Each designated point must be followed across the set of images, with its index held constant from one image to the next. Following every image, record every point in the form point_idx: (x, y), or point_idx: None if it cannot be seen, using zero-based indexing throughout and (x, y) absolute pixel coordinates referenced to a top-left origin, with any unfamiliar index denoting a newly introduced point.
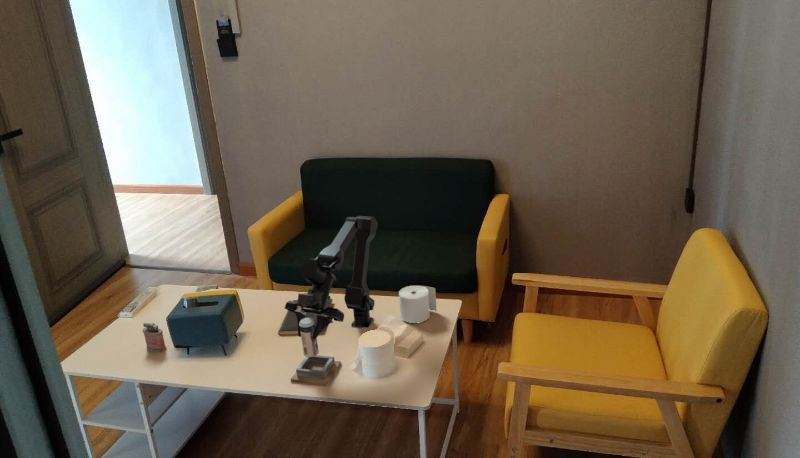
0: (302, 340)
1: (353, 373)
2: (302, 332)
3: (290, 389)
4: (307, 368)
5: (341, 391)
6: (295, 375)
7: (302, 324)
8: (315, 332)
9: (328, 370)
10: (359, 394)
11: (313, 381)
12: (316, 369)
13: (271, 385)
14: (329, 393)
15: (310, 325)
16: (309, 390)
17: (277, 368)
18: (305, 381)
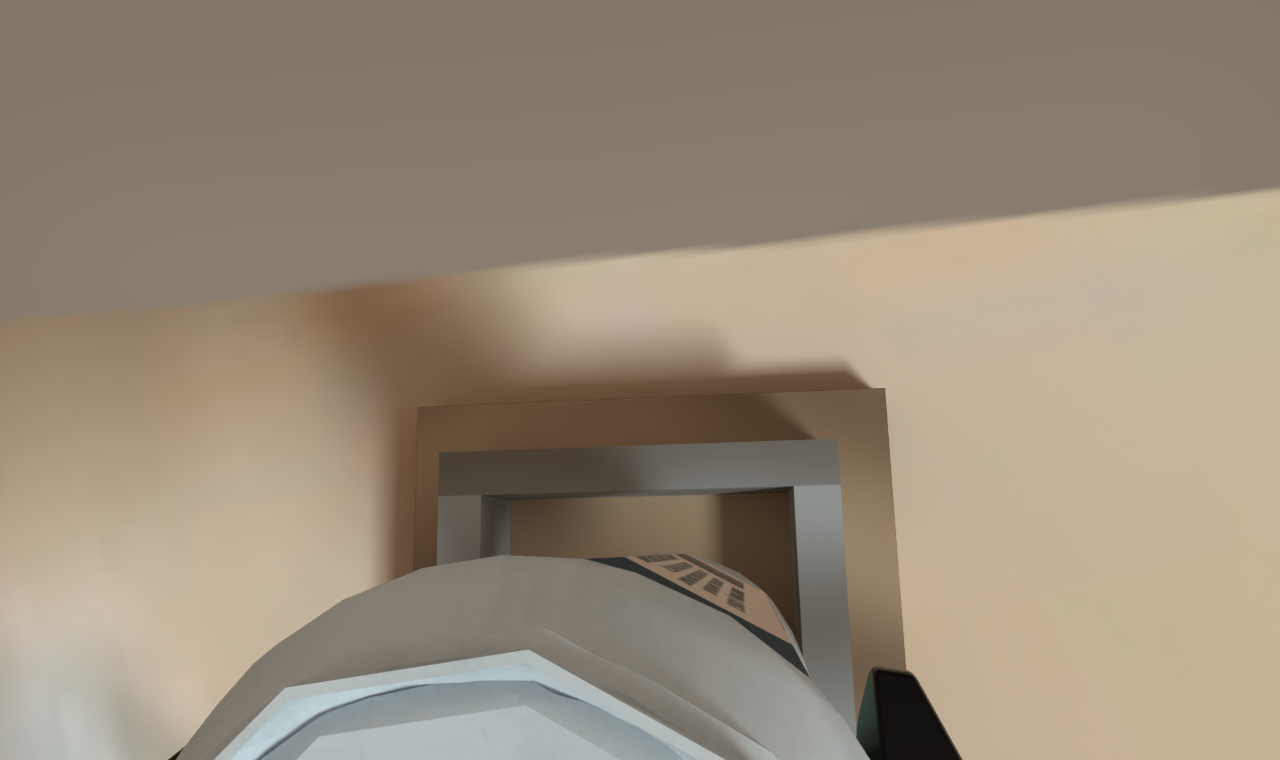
0: (744, 598)
1: None
2: (674, 585)
3: (809, 264)
4: None
5: (249, 362)
6: (861, 472)
7: (576, 644)
8: None
9: None
10: (62, 358)
11: (579, 404)
12: None
13: (1078, 279)
14: (359, 301)
15: (205, 753)
16: (589, 298)
17: (1228, 634)
18: (682, 396)
